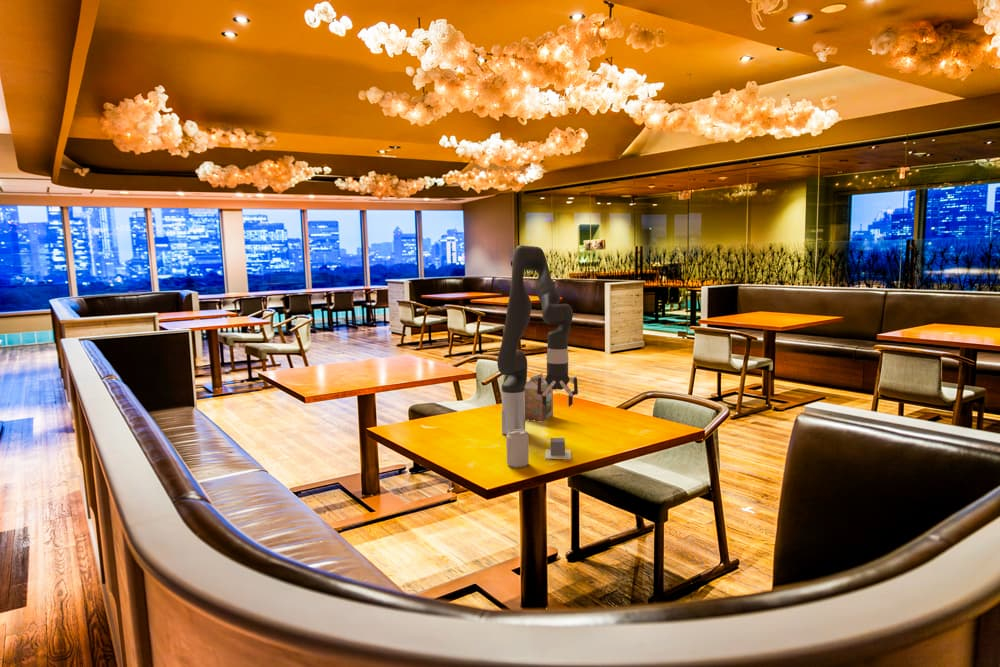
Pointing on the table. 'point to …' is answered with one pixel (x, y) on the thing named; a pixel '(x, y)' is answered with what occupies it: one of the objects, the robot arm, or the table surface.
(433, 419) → the table surface
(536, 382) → the milk carton
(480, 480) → the table surface
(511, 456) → the can
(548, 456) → the mat
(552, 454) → the cube
